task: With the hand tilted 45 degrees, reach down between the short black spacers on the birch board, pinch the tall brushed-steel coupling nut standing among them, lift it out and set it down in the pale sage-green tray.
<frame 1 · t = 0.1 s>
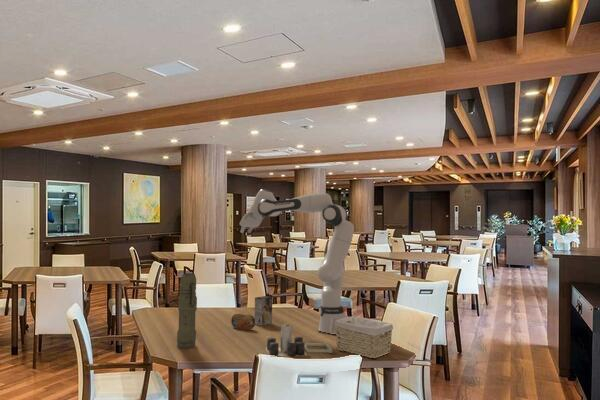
hand: (245, 232, 288), 54 cm above the table, tool tilted 30°, fingers open, 8 cm apart
tin: (243, 329, 266), on the table
spacer board: (285, 353, 218), on the table
tray: (317, 350, 224), on the table
storage basket: (363, 353, 222), on the table
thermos: (186, 346, 227), on the table
coffee box: (263, 324, 280), on the table
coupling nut: (285, 351, 218), point 1 cm above the table, touching spacer board
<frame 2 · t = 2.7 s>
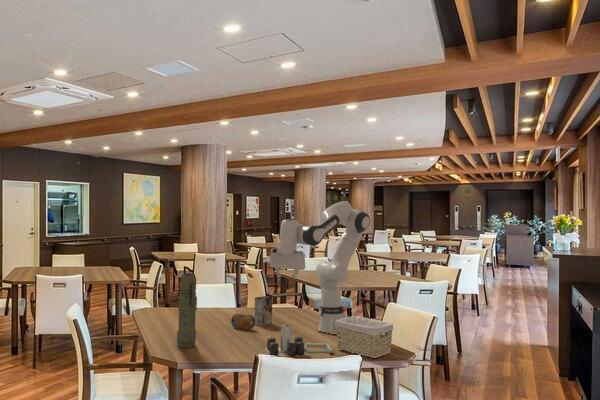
hand: (286, 277, 237), 33 cm above the table, tool pointing down, fingers open, 8 cm apart
nothing on the table moved.
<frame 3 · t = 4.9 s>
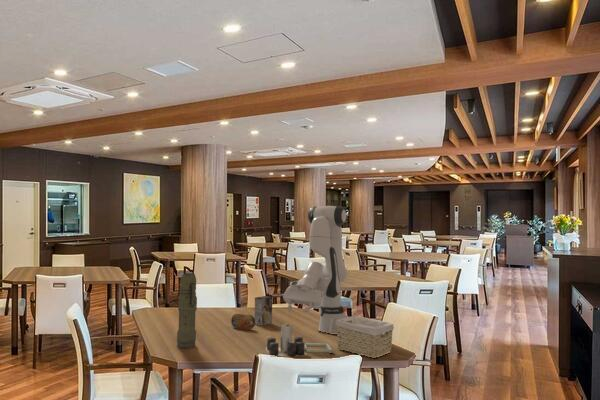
hand: (297, 310, 229), 18 cm above the table, tool tilted 45°, fingers open, 8 cm apart
nothing on the table moved.
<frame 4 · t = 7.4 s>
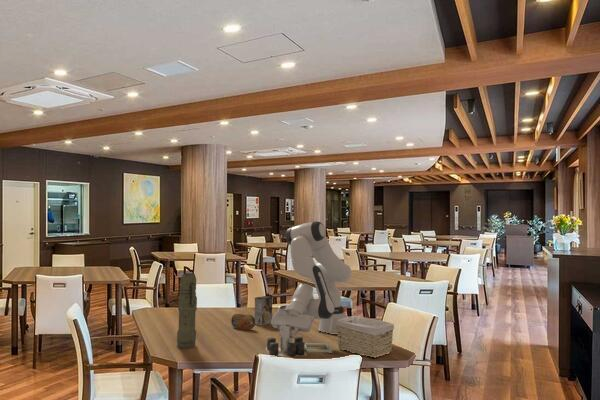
hand: (286, 336, 218), 8 cm above the table, tool tilted 45°, fingers closed on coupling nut, 4 cm apart
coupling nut: (285, 351, 218), point 1 cm above the table, touching gripper, spacer board
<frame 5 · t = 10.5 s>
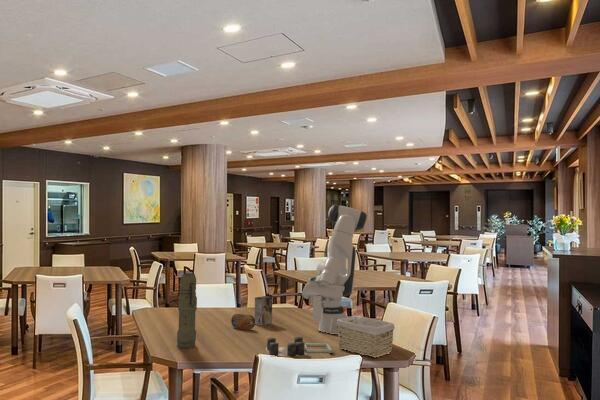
hand: (317, 306, 224), 21 cm above the table, tool tilted 45°, fingers closed on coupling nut, 4 cm apart
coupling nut: (317, 320, 224), point 14 cm above the table, touching gripper
when the fingers open (9 cm above the table, at t = 13.2 s): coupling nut drops 2 cm, resting on tray.
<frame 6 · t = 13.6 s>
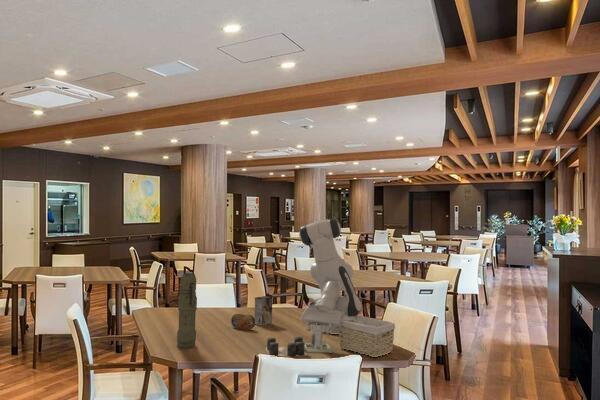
hand: (317, 331, 223), 9 cm above the table, tool tilted 45°, fingers open, 8 cm apart
storage basket: (365, 352, 224), on the table, touching arm
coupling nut: (317, 350, 223), point 1 cm above the table, touching tray
everything else where it was.
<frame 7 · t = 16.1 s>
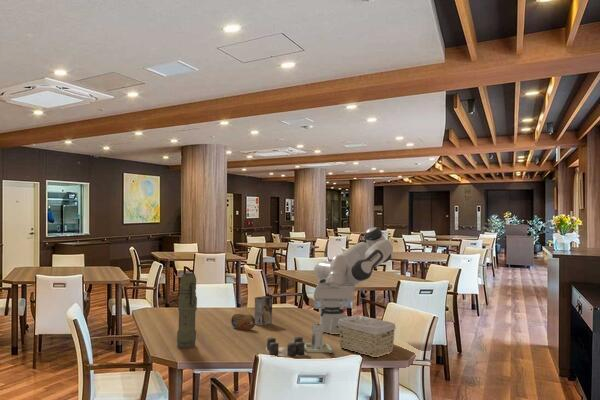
hand: (331, 308, 228), 19 cm above the table, tool tilted 35°, fingers open, 8 cm apart
storage basket: (366, 352, 225), on the table
everything else where it was.
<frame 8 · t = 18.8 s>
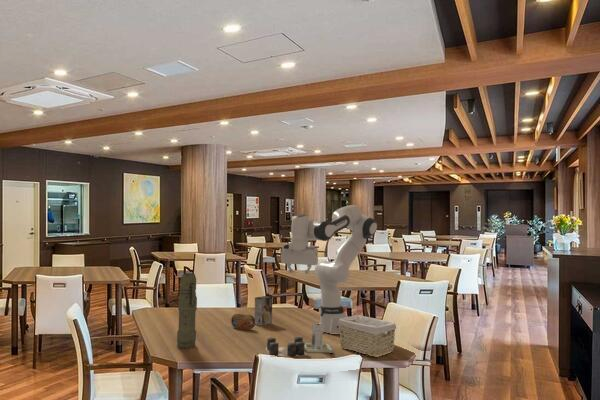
hand: (298, 273, 240), 35 cm above the table, tool pointing down, fingers open, 8 cm apart
nothing on the table moved.
at the end: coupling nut inside the target area on the tray (0.9 cm from its centre), point 0.6 cm above the tray's base; the gripper is holding nothing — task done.
